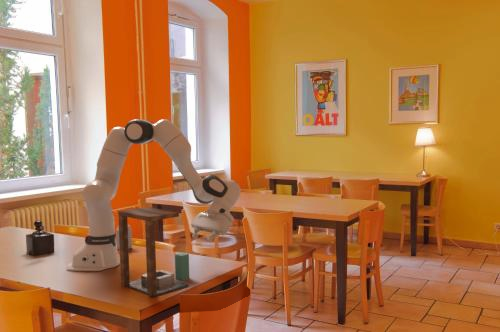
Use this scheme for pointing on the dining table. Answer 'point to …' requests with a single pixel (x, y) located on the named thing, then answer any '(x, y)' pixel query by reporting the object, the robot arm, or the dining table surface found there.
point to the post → (182, 266)
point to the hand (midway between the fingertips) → (200, 239)
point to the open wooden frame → (150, 217)
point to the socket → (158, 283)
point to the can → (128, 238)
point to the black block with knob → (39, 241)
